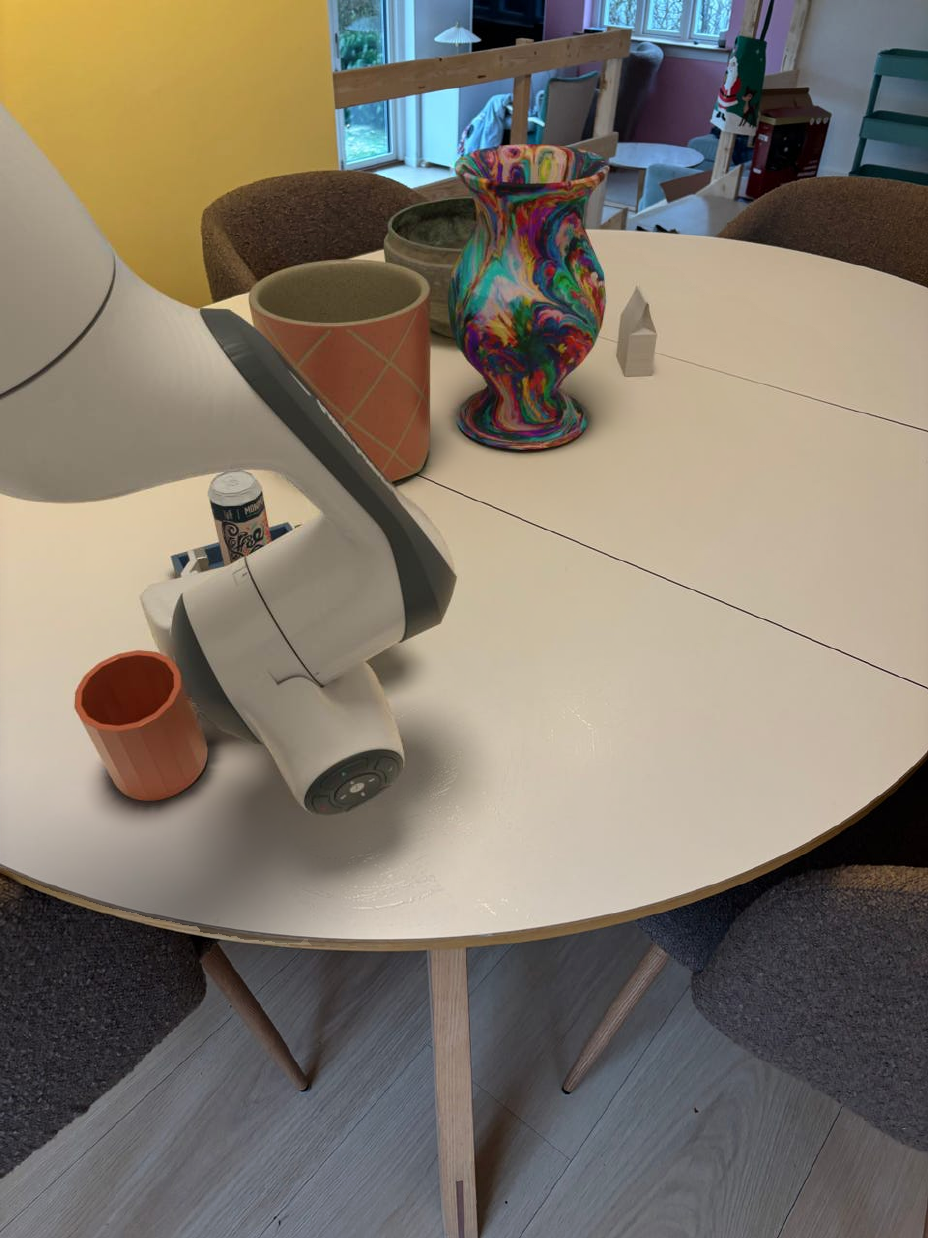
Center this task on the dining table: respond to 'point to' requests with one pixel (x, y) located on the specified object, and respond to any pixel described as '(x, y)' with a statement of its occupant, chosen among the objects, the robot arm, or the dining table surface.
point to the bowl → (432, 247)
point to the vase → (527, 291)
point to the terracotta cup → (142, 724)
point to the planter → (358, 349)
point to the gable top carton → (636, 337)
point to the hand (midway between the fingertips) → (250, 542)
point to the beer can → (238, 514)
